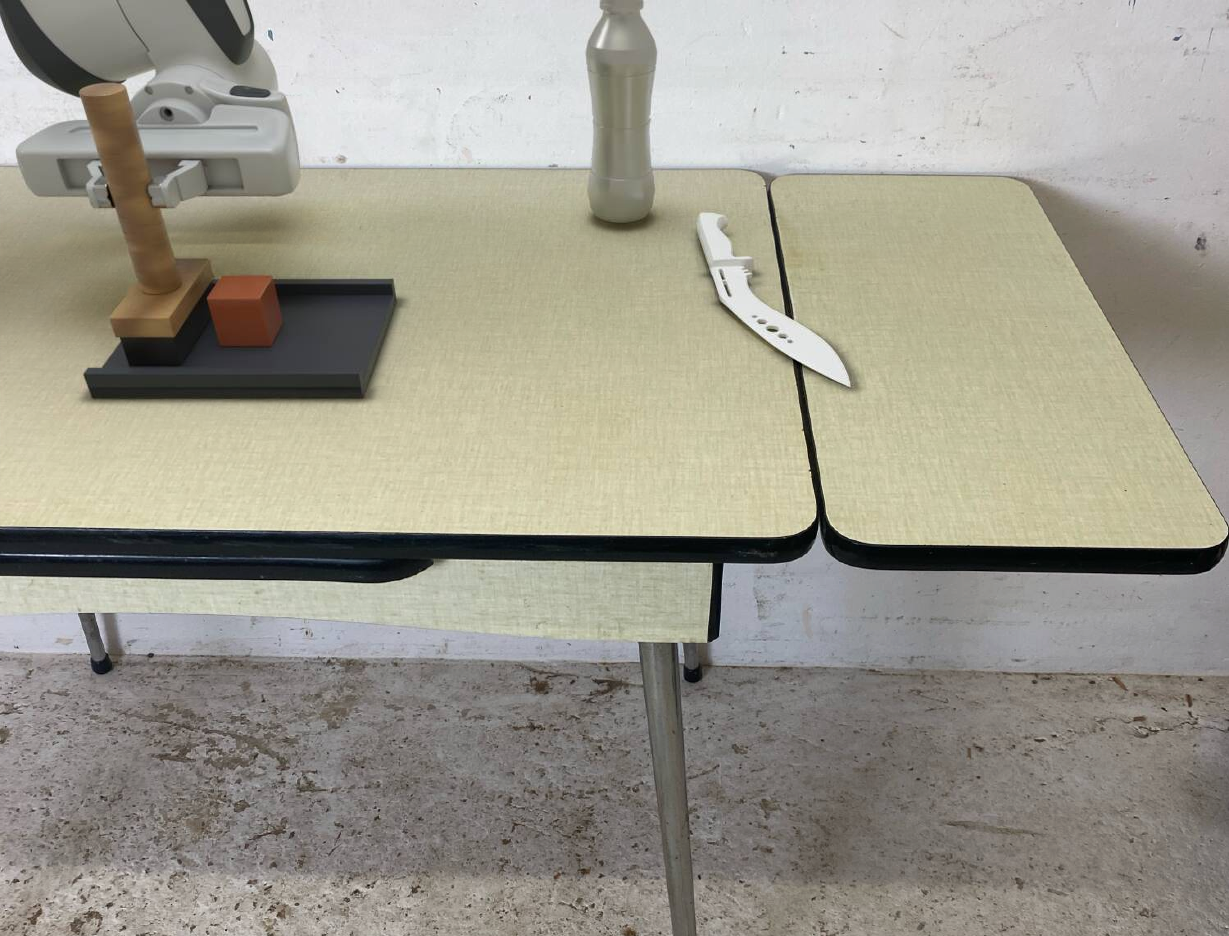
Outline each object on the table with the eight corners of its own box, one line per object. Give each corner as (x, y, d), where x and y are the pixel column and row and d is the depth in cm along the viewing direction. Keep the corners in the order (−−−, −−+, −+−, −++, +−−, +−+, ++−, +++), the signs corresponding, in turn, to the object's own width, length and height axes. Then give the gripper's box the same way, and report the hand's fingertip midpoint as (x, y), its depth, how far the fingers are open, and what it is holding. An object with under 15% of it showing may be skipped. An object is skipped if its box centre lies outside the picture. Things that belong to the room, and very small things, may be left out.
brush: (125, 367, 81) (38, 113, 69) (168, 305, 88) (97, 67, 76) (183, 367, 80) (107, 113, 69) (222, 305, 88) (159, 67, 76)
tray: (91, 398, 79) (82, 374, 78) (161, 301, 91) (154, 278, 90) (363, 398, 79) (358, 373, 78) (396, 301, 91) (393, 278, 90)
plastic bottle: (659, 206, 106) (665, -24, 93) (648, 233, 101) (653, -6, 88) (595, 202, 107) (591, -27, 94) (581, 229, 102) (576, -9, 89)
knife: (855, 377, 79) (751, 380, 79) (851, 396, 80) (749, 400, 80) (775, 208, 101) (693, 210, 100) (773, 226, 102) (692, 227, 101)
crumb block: (219, 346, 83) (206, 298, 80) (233, 322, 86) (221, 275, 83) (271, 346, 83) (259, 297, 80) (283, 322, 86) (272, 274, 83)
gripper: (45, 92, 85) (-34, 152, 74) (305, 91, 85) (261, 151, 74) (73, 174, 89) (1, 241, 79) (319, 173, 89) (280, 241, 78)
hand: (129, 198), depth 76 cm, fingers closed on brush, 3 cm apart
